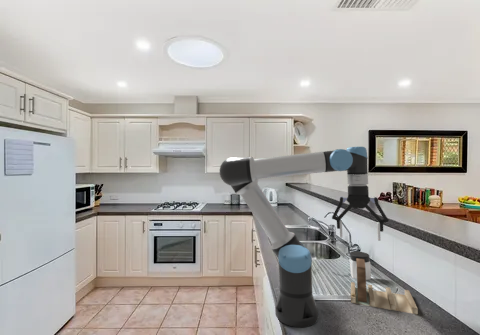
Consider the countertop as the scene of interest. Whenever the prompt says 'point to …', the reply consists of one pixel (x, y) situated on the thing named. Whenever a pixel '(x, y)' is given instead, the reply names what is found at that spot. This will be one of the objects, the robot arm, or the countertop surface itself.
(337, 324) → the countertop surface
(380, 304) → the slotted rack
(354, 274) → the jar
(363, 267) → the wooden block
